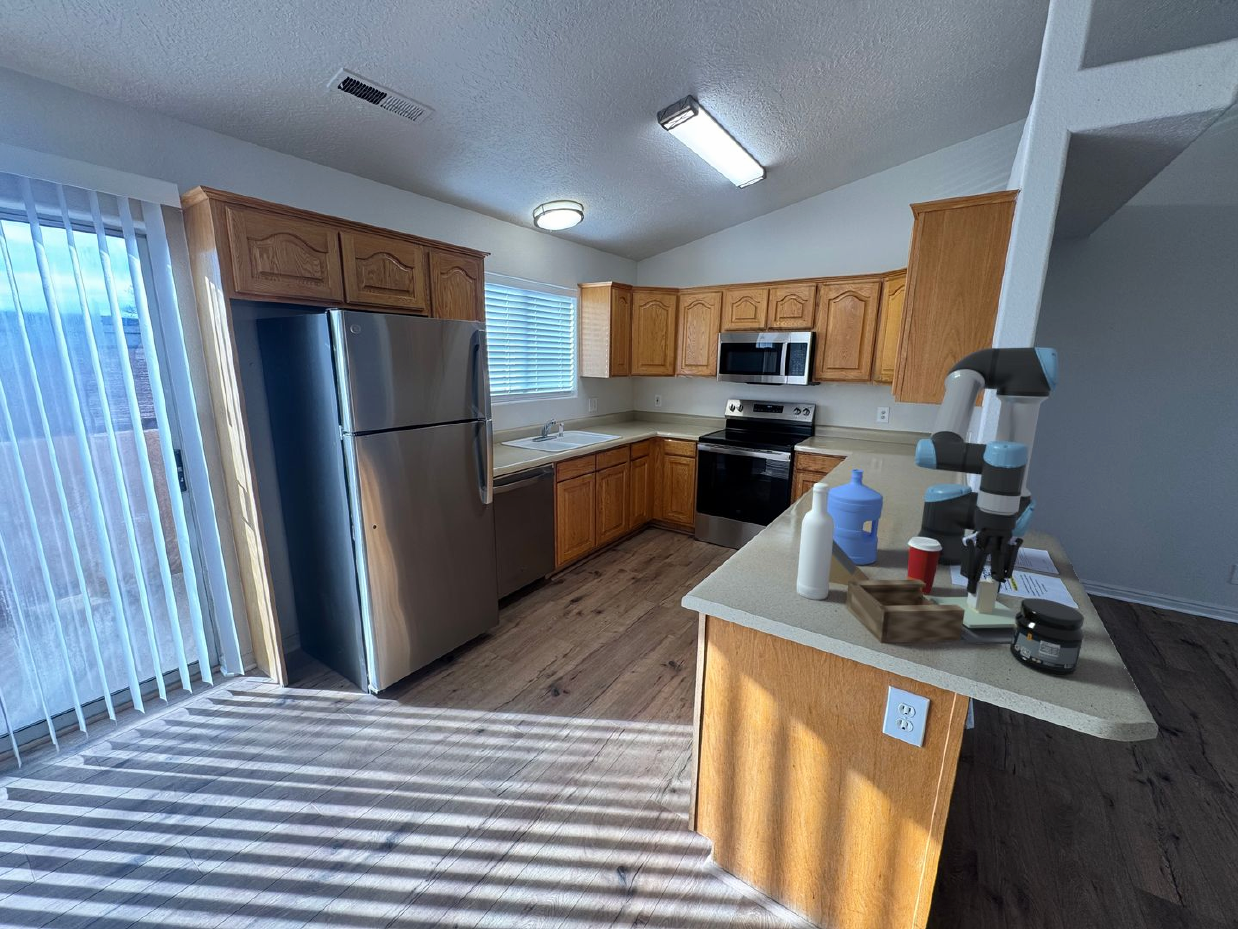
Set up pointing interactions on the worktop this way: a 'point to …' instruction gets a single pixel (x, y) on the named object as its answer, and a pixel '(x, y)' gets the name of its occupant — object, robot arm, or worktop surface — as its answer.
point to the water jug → (855, 518)
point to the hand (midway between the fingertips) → (980, 605)
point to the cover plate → (980, 619)
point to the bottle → (816, 547)
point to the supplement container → (1047, 636)
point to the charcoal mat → (986, 635)
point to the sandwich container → (843, 567)
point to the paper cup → (923, 561)
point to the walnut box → (902, 612)
